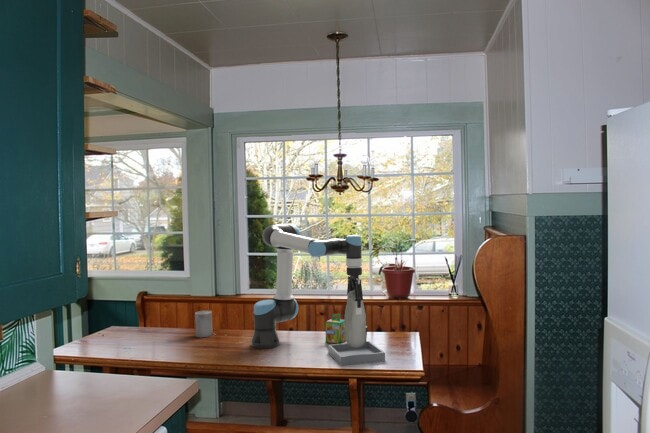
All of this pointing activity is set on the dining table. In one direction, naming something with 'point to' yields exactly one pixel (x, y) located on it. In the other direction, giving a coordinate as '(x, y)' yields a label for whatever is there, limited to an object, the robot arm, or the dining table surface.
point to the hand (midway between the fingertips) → (355, 312)
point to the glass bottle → (354, 322)
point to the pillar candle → (203, 323)
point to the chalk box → (335, 330)
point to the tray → (356, 353)
